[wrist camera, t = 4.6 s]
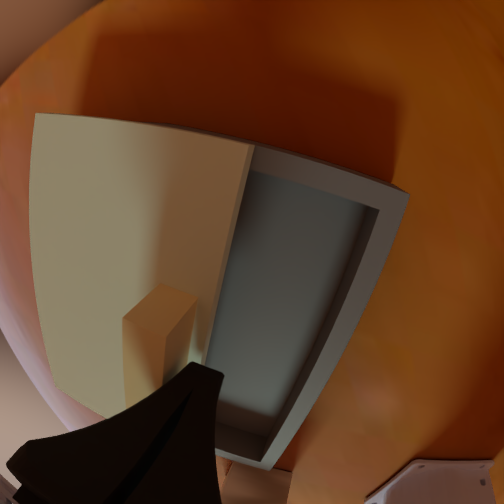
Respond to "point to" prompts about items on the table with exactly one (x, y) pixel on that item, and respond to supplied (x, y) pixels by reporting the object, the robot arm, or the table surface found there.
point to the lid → (128, 250)
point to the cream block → (255, 485)
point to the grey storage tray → (292, 292)
